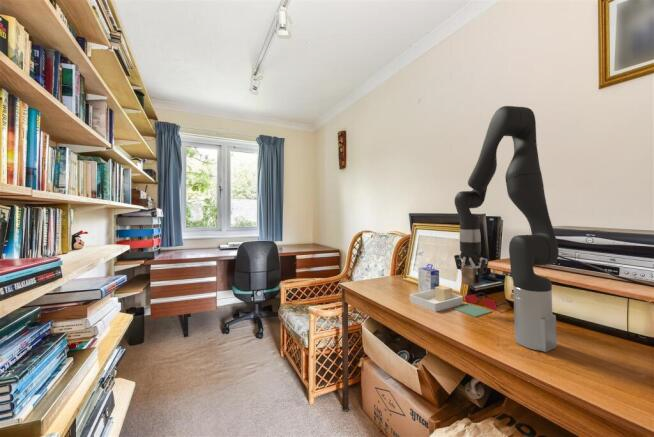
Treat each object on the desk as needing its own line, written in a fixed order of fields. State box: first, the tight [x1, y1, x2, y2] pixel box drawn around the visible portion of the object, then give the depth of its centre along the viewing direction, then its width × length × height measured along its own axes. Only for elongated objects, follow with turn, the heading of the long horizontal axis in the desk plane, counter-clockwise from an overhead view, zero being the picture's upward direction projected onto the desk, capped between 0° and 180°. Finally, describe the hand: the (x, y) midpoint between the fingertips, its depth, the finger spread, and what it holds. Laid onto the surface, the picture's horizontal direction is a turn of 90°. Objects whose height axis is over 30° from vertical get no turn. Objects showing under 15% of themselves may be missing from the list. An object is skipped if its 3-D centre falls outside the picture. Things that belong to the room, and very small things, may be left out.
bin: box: [409, 289, 464, 313], centre depth 118 cm, size 15×17×4 cm
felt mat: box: [452, 303, 493, 318], centre depth 107 cm, size 10×10×1 cm
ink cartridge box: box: [417, 263, 440, 292], centre depth 133 cm, size 10×6×14 cm, turn 18°
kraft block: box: [435, 285, 453, 302], centre depth 120 cm, size 5×5×6 cm
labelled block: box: [460, 265, 482, 287], centre depth 107 cm, size 5×5×7 cm
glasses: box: [463, 292, 509, 311], centre depth 115 cm, size 14×16×5 cm
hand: (471, 281), depth 107 cm, fingers closed on labelled block, 5 cm apart
